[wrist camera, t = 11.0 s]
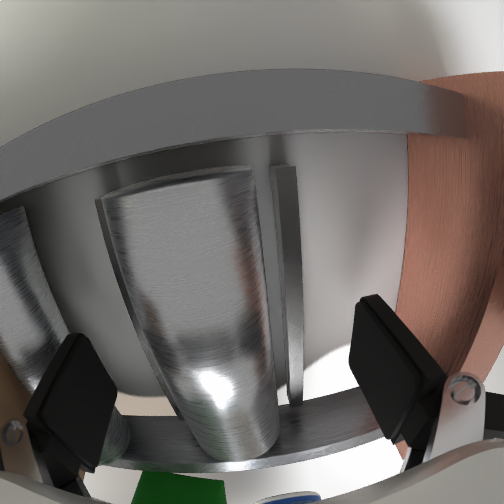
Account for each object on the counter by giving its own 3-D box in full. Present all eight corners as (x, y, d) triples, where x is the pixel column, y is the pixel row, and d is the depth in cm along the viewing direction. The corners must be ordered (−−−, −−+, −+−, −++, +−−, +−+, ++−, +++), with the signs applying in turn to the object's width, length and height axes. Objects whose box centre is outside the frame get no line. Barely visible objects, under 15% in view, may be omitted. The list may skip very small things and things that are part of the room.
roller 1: (135, 412, 12) (124, 470, 9) (81, 408, 12) (64, 458, 9) (41, 198, 8) (-29, 233, 4) (-13, 220, 8) (-70, 253, 4)
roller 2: (281, 395, 13) (277, 463, 9) (205, 394, 13) (187, 456, 9) (259, 161, 8) (241, 180, 5) (144, 178, 9) (70, 209, 5)
